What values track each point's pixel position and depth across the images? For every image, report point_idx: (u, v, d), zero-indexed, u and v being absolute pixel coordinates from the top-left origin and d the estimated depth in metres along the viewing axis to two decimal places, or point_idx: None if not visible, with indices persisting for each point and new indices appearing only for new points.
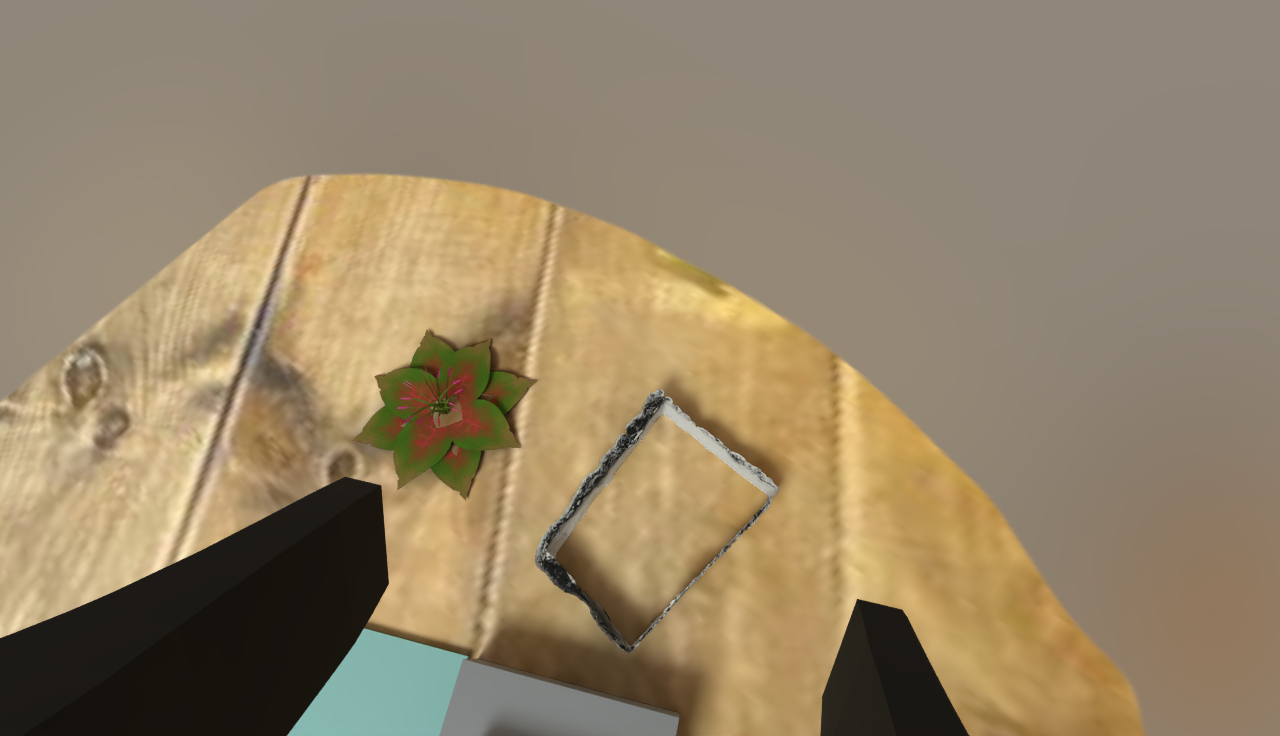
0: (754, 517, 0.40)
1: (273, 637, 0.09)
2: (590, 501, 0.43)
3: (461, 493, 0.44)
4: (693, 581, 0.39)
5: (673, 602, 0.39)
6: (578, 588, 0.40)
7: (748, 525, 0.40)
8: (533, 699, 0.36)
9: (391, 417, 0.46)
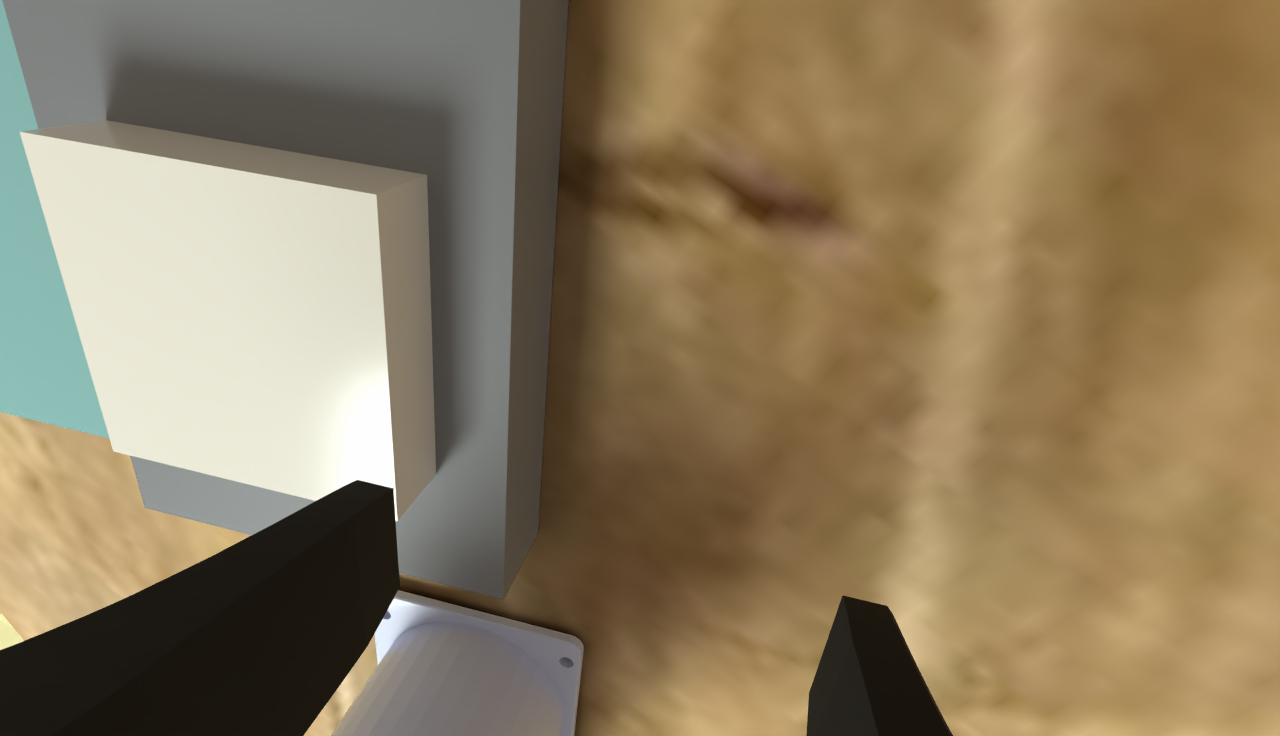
0: None
1: (287, 640, 0.09)
2: None
3: None
4: None
5: None
6: None
7: None
8: None
9: None
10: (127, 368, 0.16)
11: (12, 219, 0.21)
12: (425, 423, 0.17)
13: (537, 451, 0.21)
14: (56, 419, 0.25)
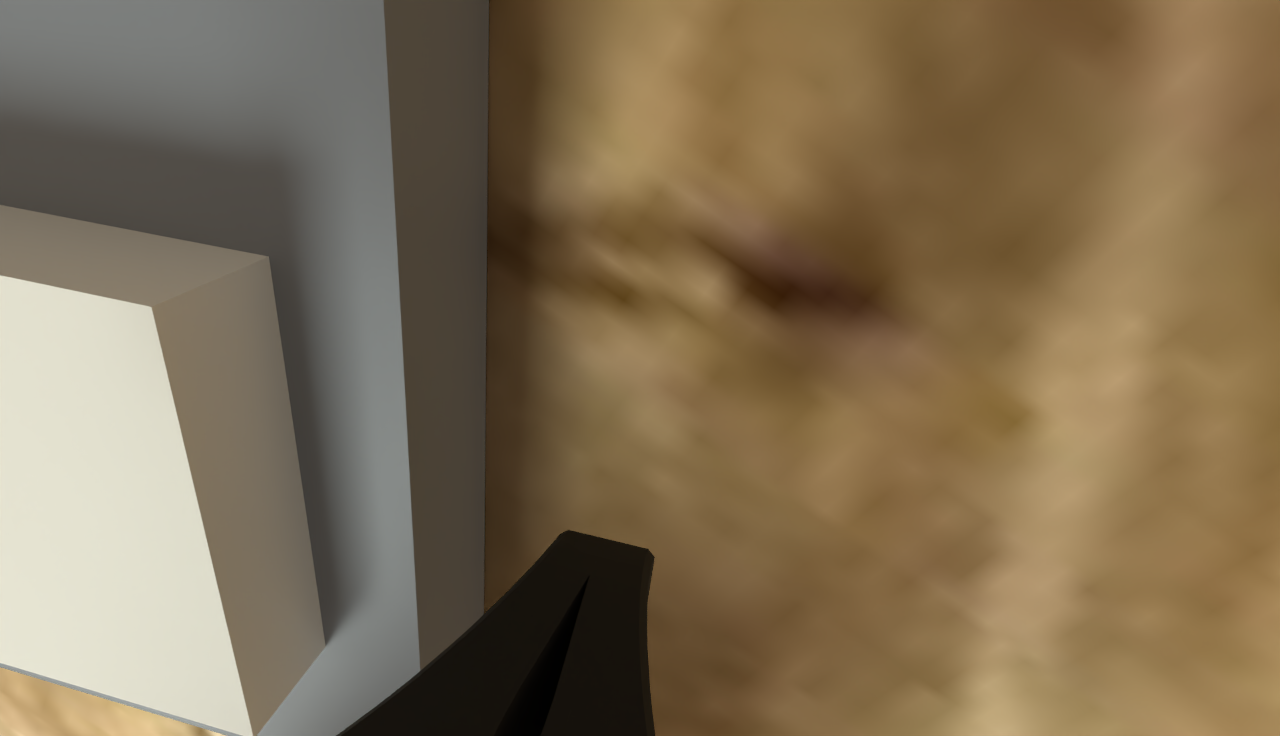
0: None
1: (542, 711, 0.08)
2: None
3: None
4: None
5: None
6: None
7: None
8: None
9: None
10: None
11: None
12: (298, 592, 0.12)
13: (474, 593, 0.16)
14: None
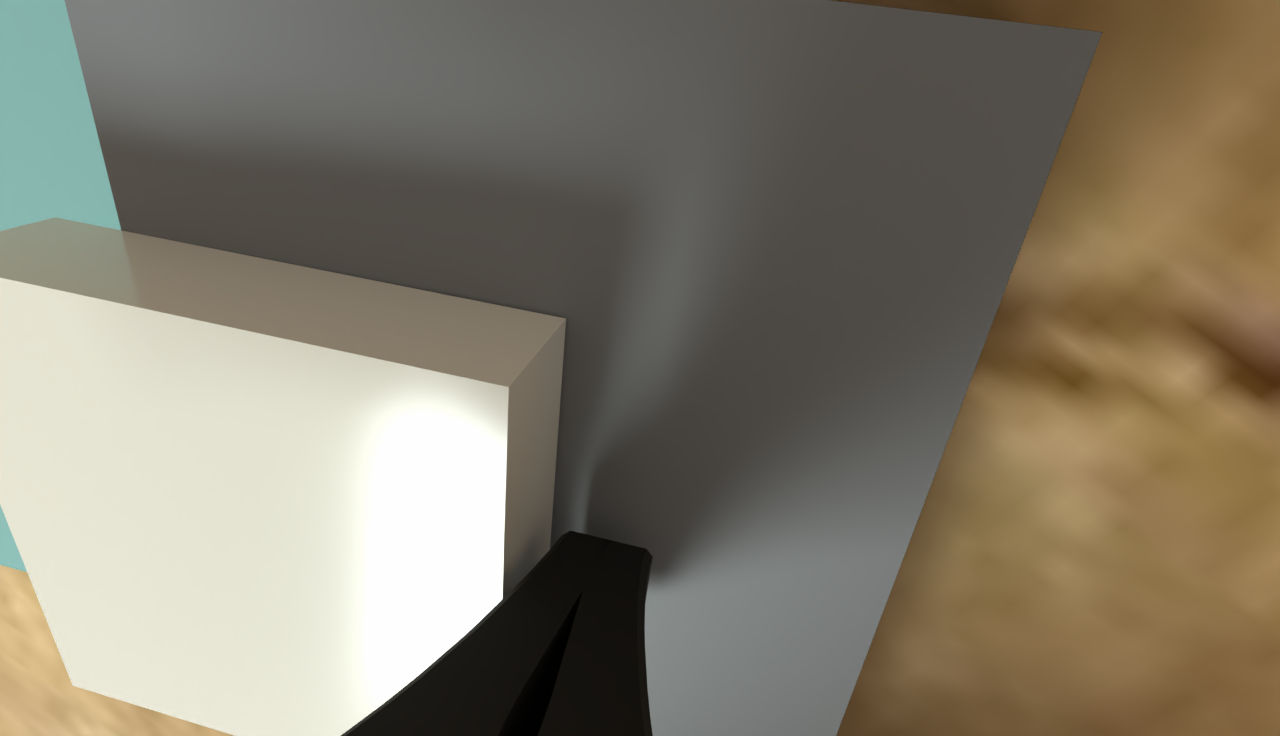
0: None
1: (545, 712, 0.08)
2: None
3: None
4: None
5: None
6: None
7: None
8: (377, 42, 0.08)
9: None
10: (88, 590, 0.11)
11: None
12: None
13: None
14: None
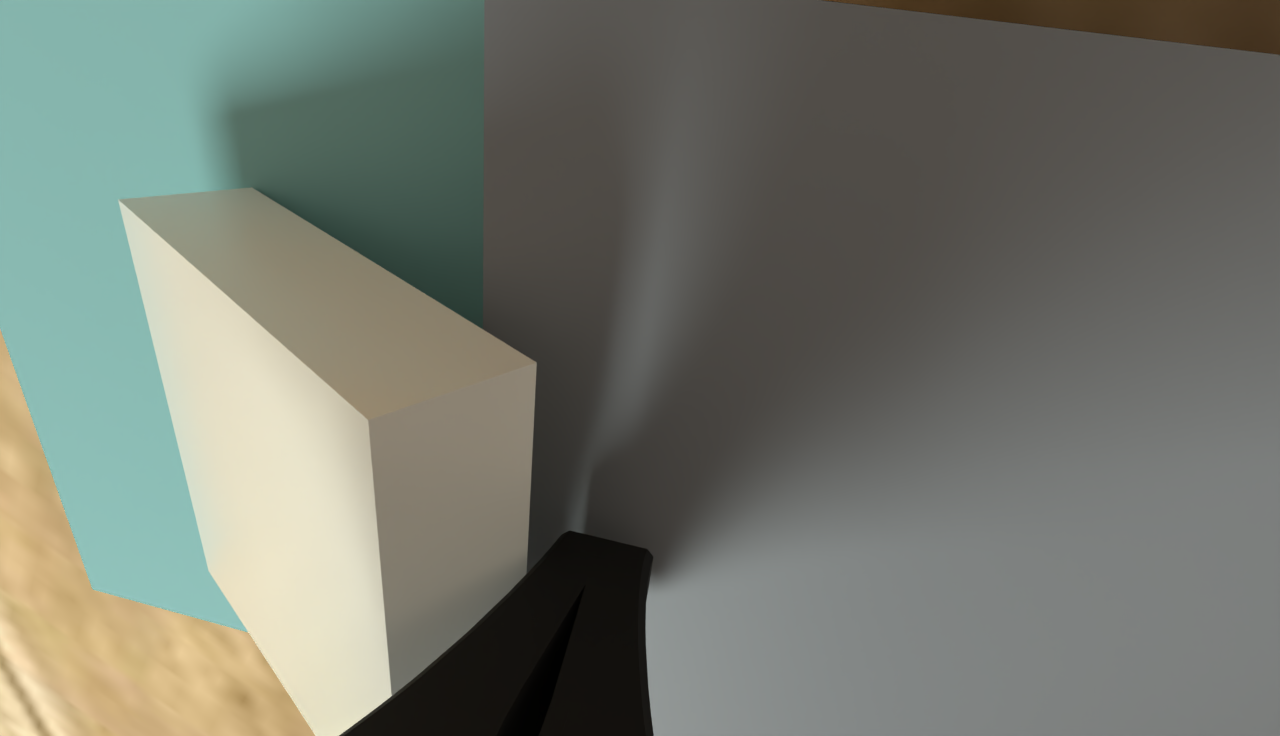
0: None
1: (543, 711, 0.08)
2: None
3: None
4: None
5: None
6: None
7: None
8: (863, 109, 0.07)
9: None
10: (204, 498, 0.13)
11: None
12: None
13: None
14: None
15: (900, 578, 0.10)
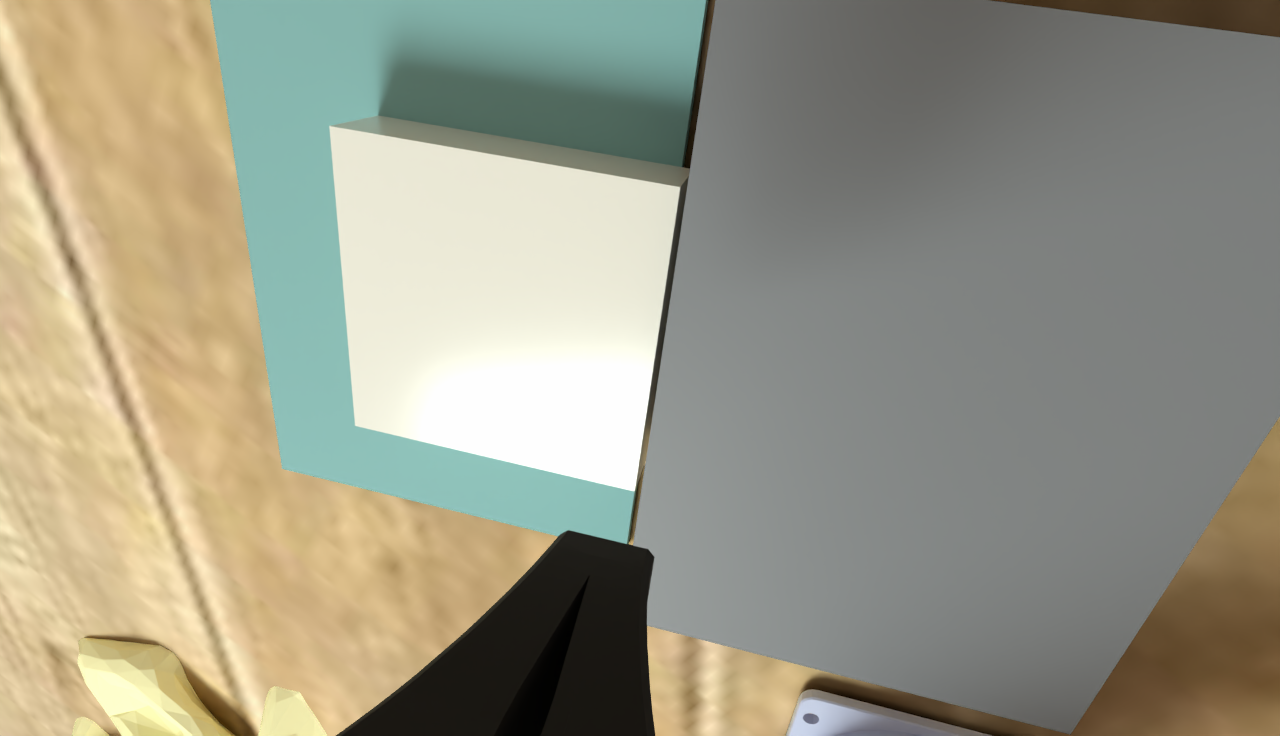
0: None
1: (542, 711, 0.08)
2: None
3: None
4: None
5: None
6: None
7: None
8: (959, 63, 0.12)
9: None
10: (388, 347, 0.18)
11: None
12: None
13: None
14: (460, 505, 0.22)
15: (964, 394, 0.14)
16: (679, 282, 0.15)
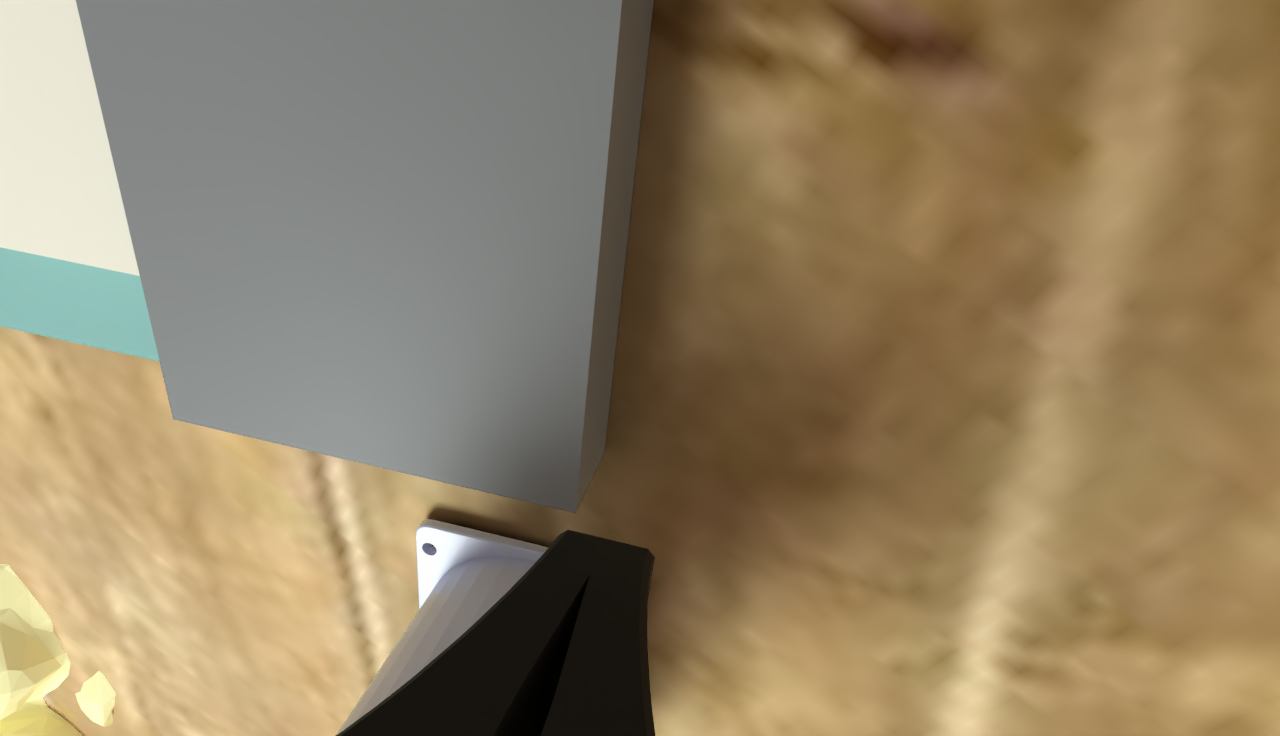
0: None
1: (542, 711, 0.08)
2: None
3: None
4: None
5: None
6: None
7: None
8: None
9: None
10: None
11: None
12: None
13: (611, 350, 0.19)
14: (72, 335, 0.23)
15: (354, 127, 0.15)
16: (86, 24, 0.15)
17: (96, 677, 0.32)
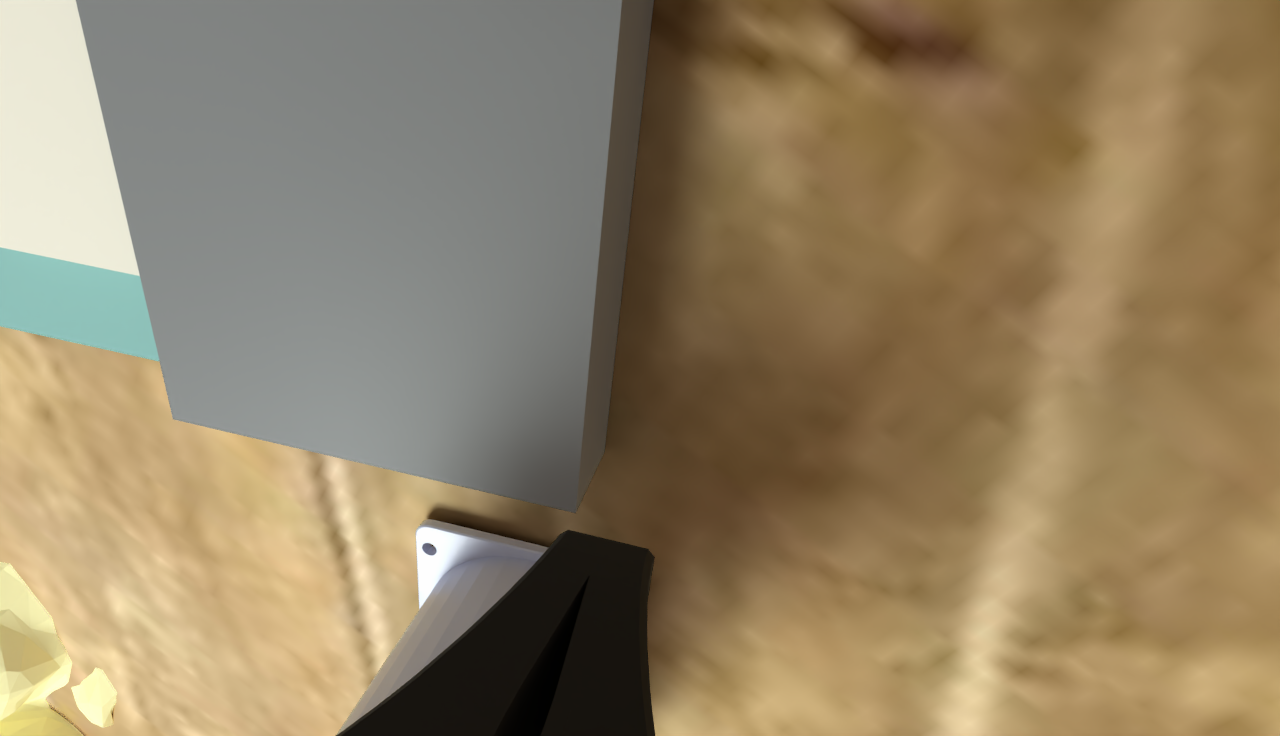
0: None
1: (542, 711, 0.08)
2: None
3: None
4: None
5: None
6: None
7: None
8: None
9: None
10: None
11: None
12: None
13: (611, 350, 0.19)
14: (72, 335, 0.23)
15: (354, 127, 0.15)
16: (86, 24, 0.15)
17: (95, 678, 0.32)
